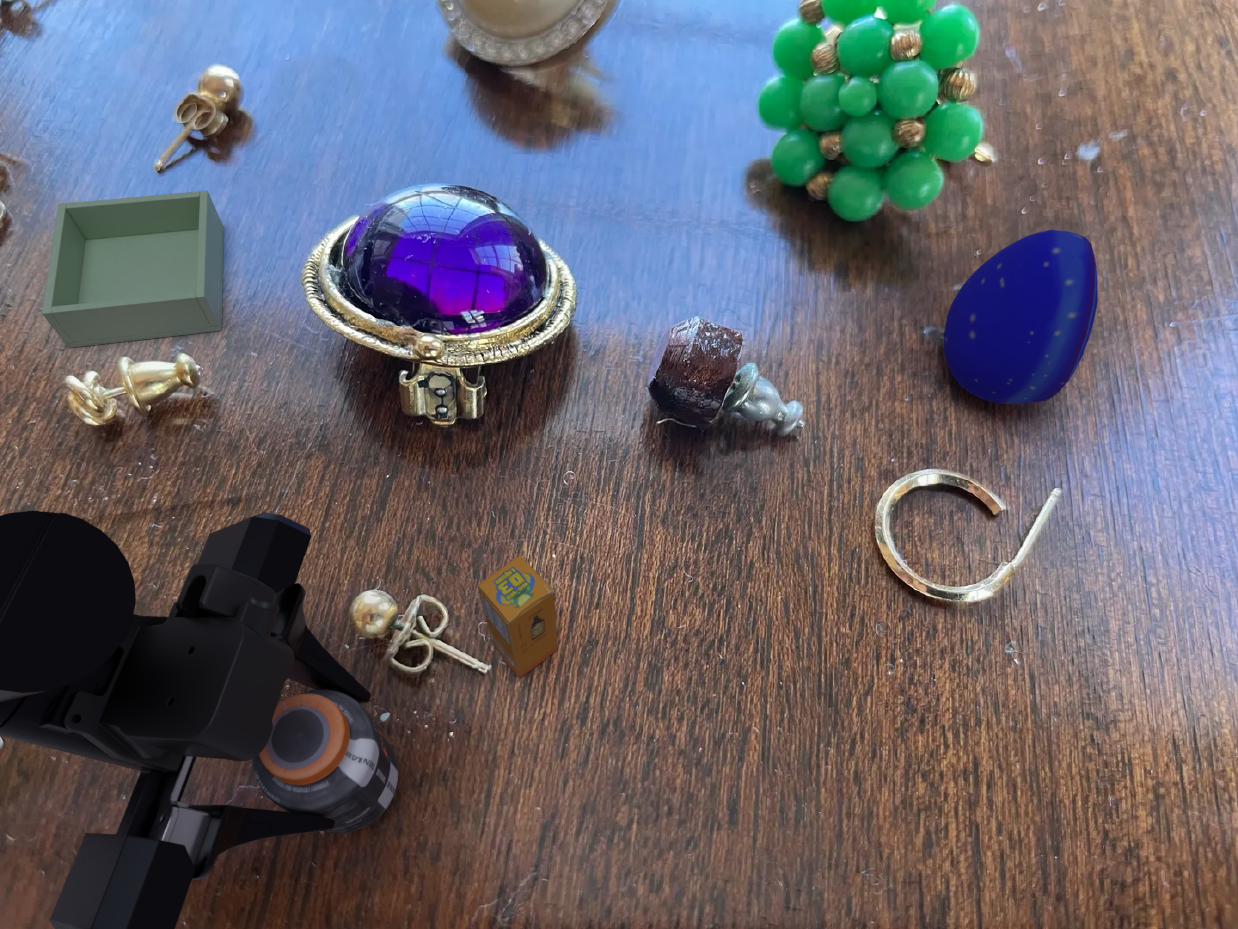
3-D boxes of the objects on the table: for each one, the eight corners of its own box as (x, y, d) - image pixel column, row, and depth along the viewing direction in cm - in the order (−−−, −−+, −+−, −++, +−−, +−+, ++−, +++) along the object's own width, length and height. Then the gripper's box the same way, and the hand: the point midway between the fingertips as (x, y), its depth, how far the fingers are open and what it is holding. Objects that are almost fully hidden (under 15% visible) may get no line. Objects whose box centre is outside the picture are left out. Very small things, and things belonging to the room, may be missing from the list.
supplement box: (527, 611, 59) (523, 549, 50) (559, 650, 58) (560, 594, 49) (487, 640, 58) (475, 583, 49) (518, 681, 57) (512, 629, 48)
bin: (68, 348, 67) (41, 313, 64) (82, 240, 72) (57, 203, 69) (221, 331, 69) (204, 296, 65) (224, 227, 74) (207, 190, 71)
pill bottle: (420, 762, 51) (392, 714, 42) (354, 857, 49) (307, 829, 39) (339, 708, 53) (293, 649, 43) (270, 798, 50) (204, 756, 40)
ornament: (1046, 437, 69) (1160, 314, 56) (930, 423, 69) (1018, 297, 56) (1027, 327, 74) (1127, 192, 61) (920, 314, 74) (997, 176, 61)
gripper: (-32, 941, 26) (394, 992, 35) (205, 415, 35) (491, 567, 45) (-121, 913, 33) (256, 961, 42) (97, 479, 42) (365, 599, 51)
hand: (348, 760), depth 45 cm, fingers closed on pill bottle, 6 cm apart
